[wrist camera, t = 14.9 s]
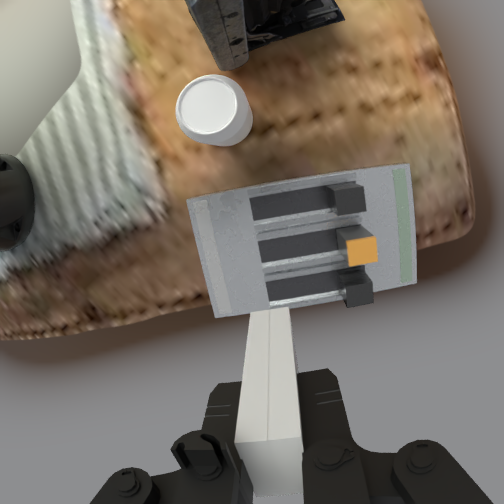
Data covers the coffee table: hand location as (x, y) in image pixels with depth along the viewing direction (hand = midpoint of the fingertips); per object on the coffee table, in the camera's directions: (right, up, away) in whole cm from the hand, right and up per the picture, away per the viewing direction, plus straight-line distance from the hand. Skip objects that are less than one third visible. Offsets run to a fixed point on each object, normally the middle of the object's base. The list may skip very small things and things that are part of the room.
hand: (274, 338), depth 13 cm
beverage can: (-4, +19, +22) cm, 29 cm away
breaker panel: (+6, +5, +26) cm, 27 cm away
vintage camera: (+1, +31, +18) cm, 36 cm away
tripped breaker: (+10, +5, +23) cm, 26 cm away
